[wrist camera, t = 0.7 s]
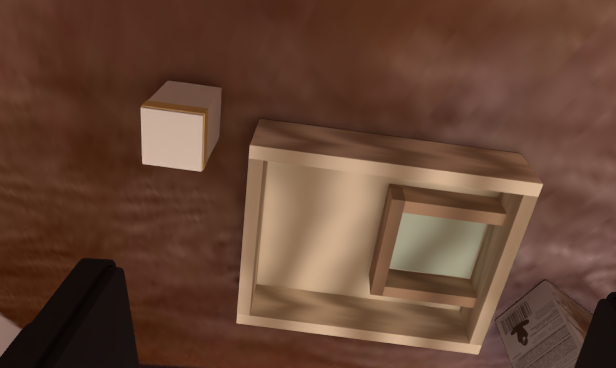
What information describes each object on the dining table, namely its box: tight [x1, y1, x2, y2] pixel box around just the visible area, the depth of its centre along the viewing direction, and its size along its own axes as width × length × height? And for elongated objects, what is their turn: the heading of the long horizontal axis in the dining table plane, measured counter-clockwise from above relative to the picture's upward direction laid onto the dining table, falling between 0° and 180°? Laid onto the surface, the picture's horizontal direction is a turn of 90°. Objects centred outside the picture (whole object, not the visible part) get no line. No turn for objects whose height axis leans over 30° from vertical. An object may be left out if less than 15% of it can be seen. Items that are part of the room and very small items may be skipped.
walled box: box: [237, 119, 543, 354], centre depth 41 cm, size 20×16×5 cm
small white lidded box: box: [141, 81, 222, 172], centre depth 37 cm, size 4×4×6 cm
